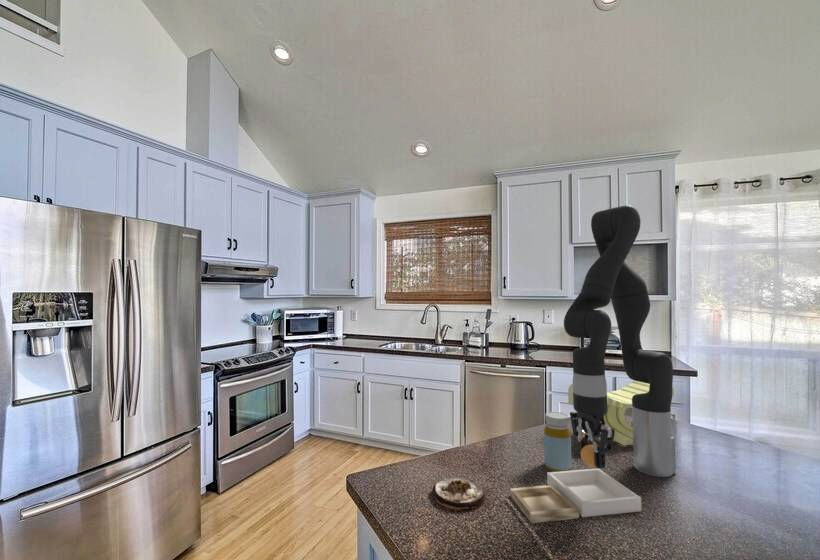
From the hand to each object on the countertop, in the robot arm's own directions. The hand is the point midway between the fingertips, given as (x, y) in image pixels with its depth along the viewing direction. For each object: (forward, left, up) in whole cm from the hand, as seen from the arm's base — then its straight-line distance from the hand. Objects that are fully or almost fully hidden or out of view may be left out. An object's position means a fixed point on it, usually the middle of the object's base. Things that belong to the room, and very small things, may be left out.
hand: (592, 462), depth 90 cm
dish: (0, 0, -9) cm, 9 cm away
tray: (+14, +2, -9) cm, 17 cm away
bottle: (0, -16, -9) cm, 18 cm away
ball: (0, 0, -1) cm, 1 cm away
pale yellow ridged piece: (-36, -36, -9) cm, 52 cm away
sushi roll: (+32, -6, -9) cm, 34 cm away
